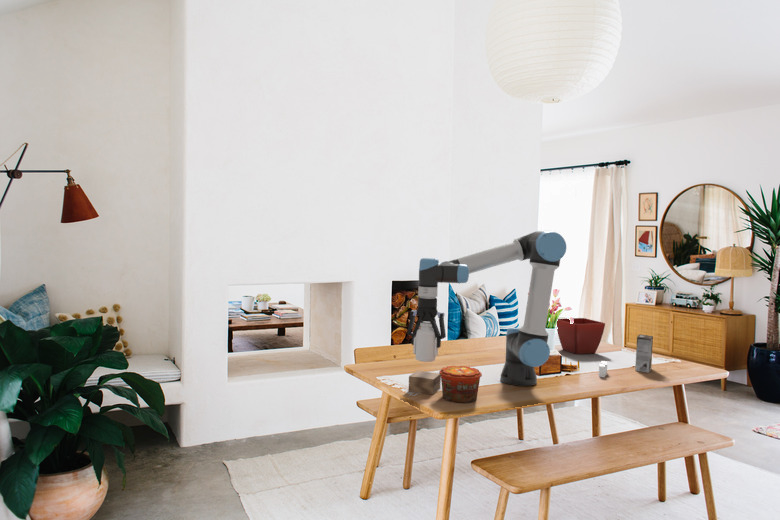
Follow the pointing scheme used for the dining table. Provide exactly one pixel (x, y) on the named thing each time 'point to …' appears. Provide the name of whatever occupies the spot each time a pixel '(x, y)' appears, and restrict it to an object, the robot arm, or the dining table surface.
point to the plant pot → (580, 335)
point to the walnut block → (424, 382)
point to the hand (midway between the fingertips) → (425, 354)
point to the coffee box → (644, 353)
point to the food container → (460, 383)
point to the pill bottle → (425, 342)
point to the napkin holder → (603, 369)
